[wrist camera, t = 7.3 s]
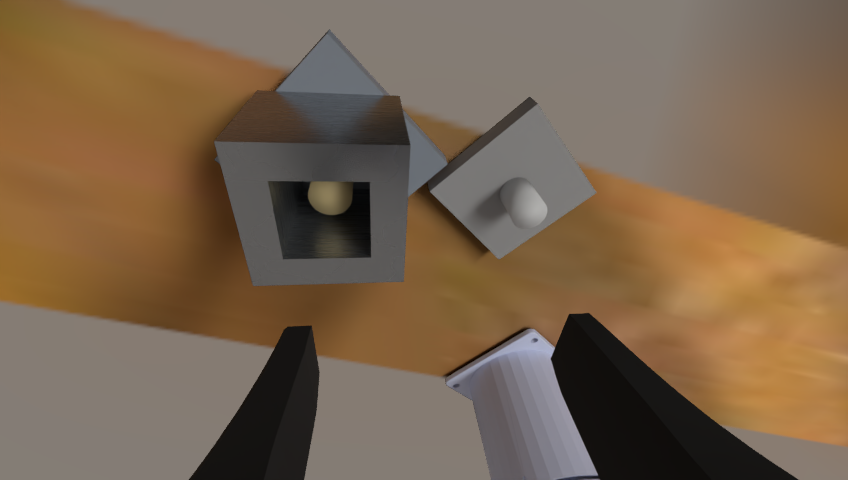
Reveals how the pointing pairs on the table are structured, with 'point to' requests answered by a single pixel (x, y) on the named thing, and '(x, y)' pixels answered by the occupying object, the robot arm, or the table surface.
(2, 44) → the table surface
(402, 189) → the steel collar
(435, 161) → the hub plate
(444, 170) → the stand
